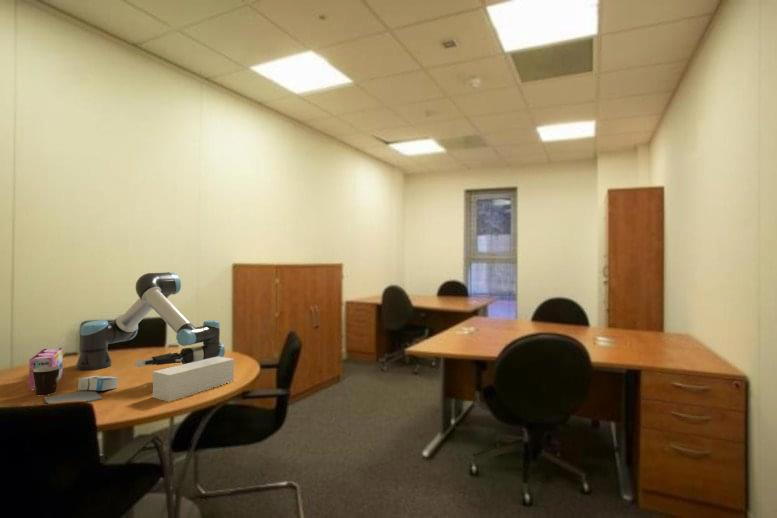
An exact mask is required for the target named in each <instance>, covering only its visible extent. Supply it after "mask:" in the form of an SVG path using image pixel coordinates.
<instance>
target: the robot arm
mask: <svg viewBox="0 0 777 518" xmlns="http://www.w3.org/2000/svg"><path fill="white" fill-rule="evenodd" d="M181 287H182V282H181V278H180V276H179V275H178V274H176V273H175V272H148V273H147V272H146V273H144V274H142V275H141V276H140V277H139V278H138V279H137V280H136V282H135V292H136V295H137V296H138V297H139V298H138V299H137V300H136V301H135V302H134V303H133V304H132V305H131V306H130V307H129V308H128V309H127V311H125V313H123V314H120V315H118V316H116V317H115V319H114V320H112V321H108V320H107V319H99V320H91V321H87V322H85V323H83V324H82V325H81V326H80V333H79V334H80V353H79V356H78V358H77V361H76V365H75V369H76V370H78V371H93V370H94V371H95V370H101V369H105V368H108V367H110V366H112V358H111V356H110V352H109V350H108V347H109V346H108V345H110V344H115V343H120V342H121V343H122V342H127V341H130V340H133V339H134V338H135V337H136V336H137V334H138V333H139V332H138V330H139V323H140V322H141V321H142V320H143V319H144V318H145V317H146V316H147V315H148V314H149V313H150V312H151V311H152V310H153V311H155V312H156V314H157V315H158V316H159V317H160V318H161V319H162V320H163V321H164V322H165V323H166V324H167V325H168V326H169V327H170V328H171V329H172V331H174V332H175V333H176V342H177V344H179V345H180V346H182V347H184V348H182V349H181V350H180V352H173V353H172V352H169V353H165V354H160V355H156V356H155V355H153V356H152V357H150V358H144V359H142V358H141V359H136V360H135V364H134V366H135V367H136V368H139V367H147V366H154V365H156V366H163V365H169V364H181V365H183V364H187V363H192V362H196V361H200V360H204V359H209V358H213V357H217V356H219V357H225V354H226V349H225V344H224V343H220V336H221V335H220V334H221V333H220V331H221V327H220V326H221V325H220V321H219V320H216V319H212V320H211V319H209V320H205V321H203V324H202V326H201V325H200V326H194V325H193V323H191V322H190V321H189V319H187V317H186V316H184V315H183V314H182V312H180V310H179V309H177V307H176V306H175V305H174V304H173V303H172V302H171V301H170V300H169V299H168V298H169V297H170V296H171V295H176V294H178V293H179V292H180V291H181ZM199 343H202V345H198V346H192V347H185V346H191V345H195V344H199Z"/></svg>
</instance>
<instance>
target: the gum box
mask: <svg viewBox="0 0 777 518" xmlns="http://www.w3.org/2000/svg"><path fill="white" fill-rule="evenodd" d="M63 356H64V355H63V347H59V348H58V349H57V348H56V349H54V348H53V349H47V348H43V349H41V350H40V351H39V352H38V353H36V354H35V355H33V356H32V357H31V358H29V359H28V360H29V363H28V364H29V365H28V368H29V369H28V371H29V373H28V374H29V375H28V391H29V390H31V391H33V390H32V389H35V382H34V375H33V370H35V369H39V368H44V367H60V369H59V375H58V381H60V379H61V378H62V377H63V376H64V368H63V366H64V365H63V364H64V363H63V362H64V361H63V360H64V358H63Z"/></svg>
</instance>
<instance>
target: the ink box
mask: <svg viewBox="0 0 777 518" xmlns="http://www.w3.org/2000/svg"><path fill="white" fill-rule="evenodd" d="M118 380H119V377H118V376H103V375H92V376H84V377H80V378H78V385H77V390H79V391H85V390H94V391H96V392H98V391H99V392H103V391H108V390H109V391H110V390H113V389H117V388H118V384H119V381H118Z"/></svg>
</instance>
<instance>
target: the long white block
mask: <svg viewBox="0 0 777 518" xmlns="http://www.w3.org/2000/svg"><path fill="white" fill-rule="evenodd" d="M234 365H235V358H230V357H225V356H223V357H219V356H217V357H213V358H209V359H204V360H200V361H196V362H192V363H187V364H180V365H175V366H171V367H168V368H163V369H158V370H153V371H152V398H154V399H157V400H161V401H166V402H172V401H176V400H179V399H182V398H185V397H188V396H192V395H195V394H198V392H199V393H202V392H205V391H208V390H211V388H212V389H214V388H213V387H215V388H217V386H218V387H220V385H221V386H224V385H223V384H225V383H228V382H231V381H235V379H234V375H235V369H234V368H235V366H234ZM231 383H232V382H231ZM228 384H229V383H228ZM225 385H226V384H225ZM204 390H205V391H204ZM201 391H202V392H201Z"/></svg>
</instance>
